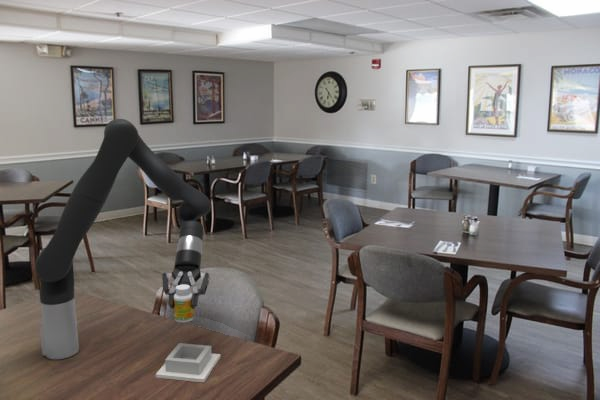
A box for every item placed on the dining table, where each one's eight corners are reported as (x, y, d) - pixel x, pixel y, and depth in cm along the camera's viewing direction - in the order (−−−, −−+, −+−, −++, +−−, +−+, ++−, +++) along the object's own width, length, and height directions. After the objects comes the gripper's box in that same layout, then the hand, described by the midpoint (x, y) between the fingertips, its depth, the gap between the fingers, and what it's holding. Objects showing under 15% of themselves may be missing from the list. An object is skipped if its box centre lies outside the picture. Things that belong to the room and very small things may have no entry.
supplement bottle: (175, 323, 142) (173, 291, 140) (174, 315, 147) (172, 284, 145) (194, 321, 144) (193, 289, 142) (193, 313, 149) (191, 282, 147)
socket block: (155, 377, 141) (155, 362, 140) (176, 353, 154) (175, 339, 153) (203, 382, 138) (203, 367, 138) (220, 357, 152) (220, 343, 151)
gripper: (162, 248, 149) (153, 302, 140) (211, 248, 149) (206, 302, 140) (167, 259, 155) (159, 312, 146) (214, 259, 155) (209, 312, 146)
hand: (182, 307), depth 143 cm, fingers closed on supplement bottle, 5 cm apart
